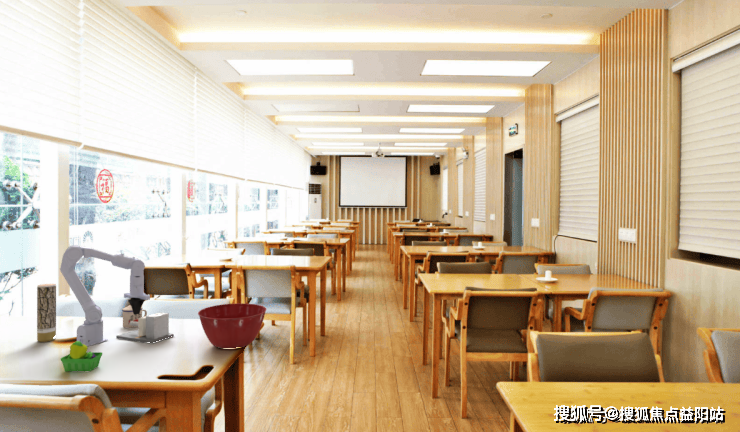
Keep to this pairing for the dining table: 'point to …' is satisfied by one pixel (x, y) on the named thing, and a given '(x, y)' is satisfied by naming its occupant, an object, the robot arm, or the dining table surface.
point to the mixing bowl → (232, 324)
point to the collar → (142, 326)
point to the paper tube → (46, 312)
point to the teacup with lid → (131, 316)
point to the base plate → (139, 337)
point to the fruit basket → (80, 358)
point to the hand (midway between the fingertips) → (136, 314)
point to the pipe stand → (156, 325)
